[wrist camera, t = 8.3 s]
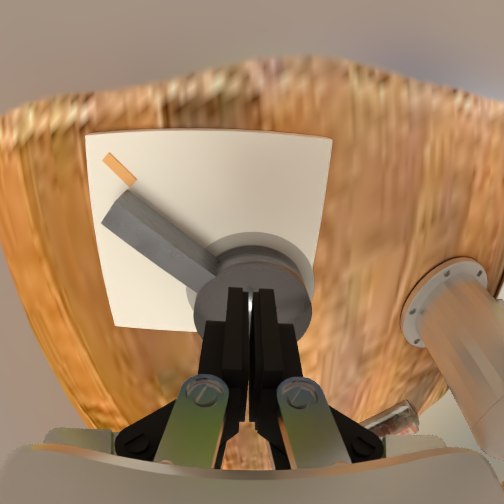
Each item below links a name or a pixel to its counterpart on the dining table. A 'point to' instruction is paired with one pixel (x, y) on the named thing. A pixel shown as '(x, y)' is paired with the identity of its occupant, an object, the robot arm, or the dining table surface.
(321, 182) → the dial base
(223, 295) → the dial
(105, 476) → the robot arm
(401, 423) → the packaged product
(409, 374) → the dining table surface
